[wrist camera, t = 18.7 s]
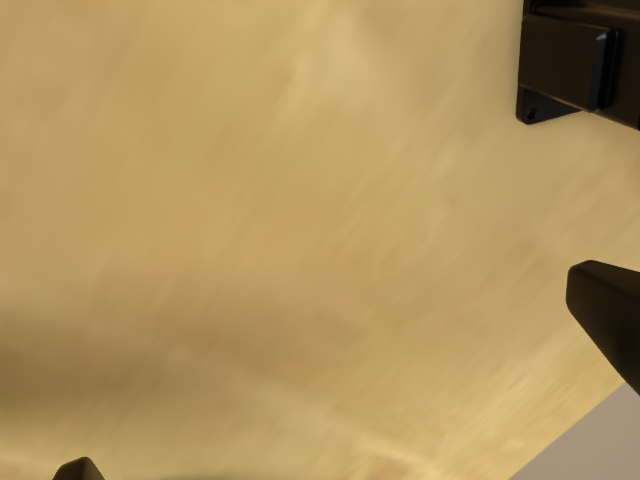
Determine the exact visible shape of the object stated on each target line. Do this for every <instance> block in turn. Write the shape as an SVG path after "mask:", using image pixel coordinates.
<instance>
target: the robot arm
mask: <svg viewBox="0 0 640 480" xmlns="http://www.w3.org/2000/svg"><path fill="white" fill-rule="evenodd" d="M530 108H531V111H530V113H529V114H528V115H527V112H528V110H529V109H530ZM582 110H583V111H586V112H588V113H593V114H596V115H599V116H601V117H604V118H607V119H609V120H612V121H614V122H617V123H620V124H622V125H625V126H627V127H630V128H633V129H635V130H638V131H640V0H524V3H523V18H522V27H521V42H520V56H519V70H518V90H517V104H516V118H517V119H518V121H520V122H523V123H525V124H527V125H530V124H535V123H538V122H542V121H546V120H549V119H553V118H557V117H560V116H564V115H568V114H571V113H575V112H579V111H582ZM566 304H567V307H568V309H569V311H570V312H571V314H572V315H573V316H574V318H575V319H576V320H577V321H578V323H579V324H580V325H581V327H582V328H583V329H584V330H585V332H586V333H587V334H588V335H589V337H590V338H591V339H592V341H593V342H594V343H595V344H596V346H597V347H598V348H599V349H600V351H601V352H602V353H603V355H604V356H605V357H606V358H607V360H608V361H609V362H610V364H611V365H612V366H613V367H614V368H615V370H616V371H617V372H618V373H619V374H620V375H621V377H622V378H623V379H624V380H625V381H626V382H627V383H628V384H629V385H630V386H631V387H632V388H633V389H634V391H636V393H638V395H639V396H640V272H637V271H633V270H629V269H625V268H621V267H618V266H614V265H610V264H606V263H602V262H598V261H594V260H587V261H584V262H582V263H579V264H576V265H574V266H572V267H570V269H569V271H568V277H567V288H566ZM52 480H105V479H104V477H103V476H102V475H101V473H100V472H99V470H98V469H97V467H96V466H95V464H94V463H93V461H92V460H91V459H90V458H88V457H81V458H79V459H76V460H74V461H71V462H68V463H66V464H64V465H62V466H61V467H60V468H59V469H58V471H57V472H56V474H55V476H54V478H53V479H52Z"/></svg>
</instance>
